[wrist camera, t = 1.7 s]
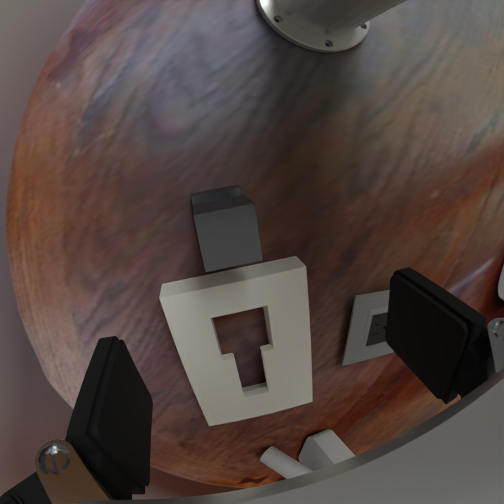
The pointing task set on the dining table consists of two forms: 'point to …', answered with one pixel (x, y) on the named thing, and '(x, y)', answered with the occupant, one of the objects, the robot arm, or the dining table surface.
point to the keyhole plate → (273, 354)
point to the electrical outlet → (367, 328)
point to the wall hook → (308, 455)
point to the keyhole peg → (226, 228)
